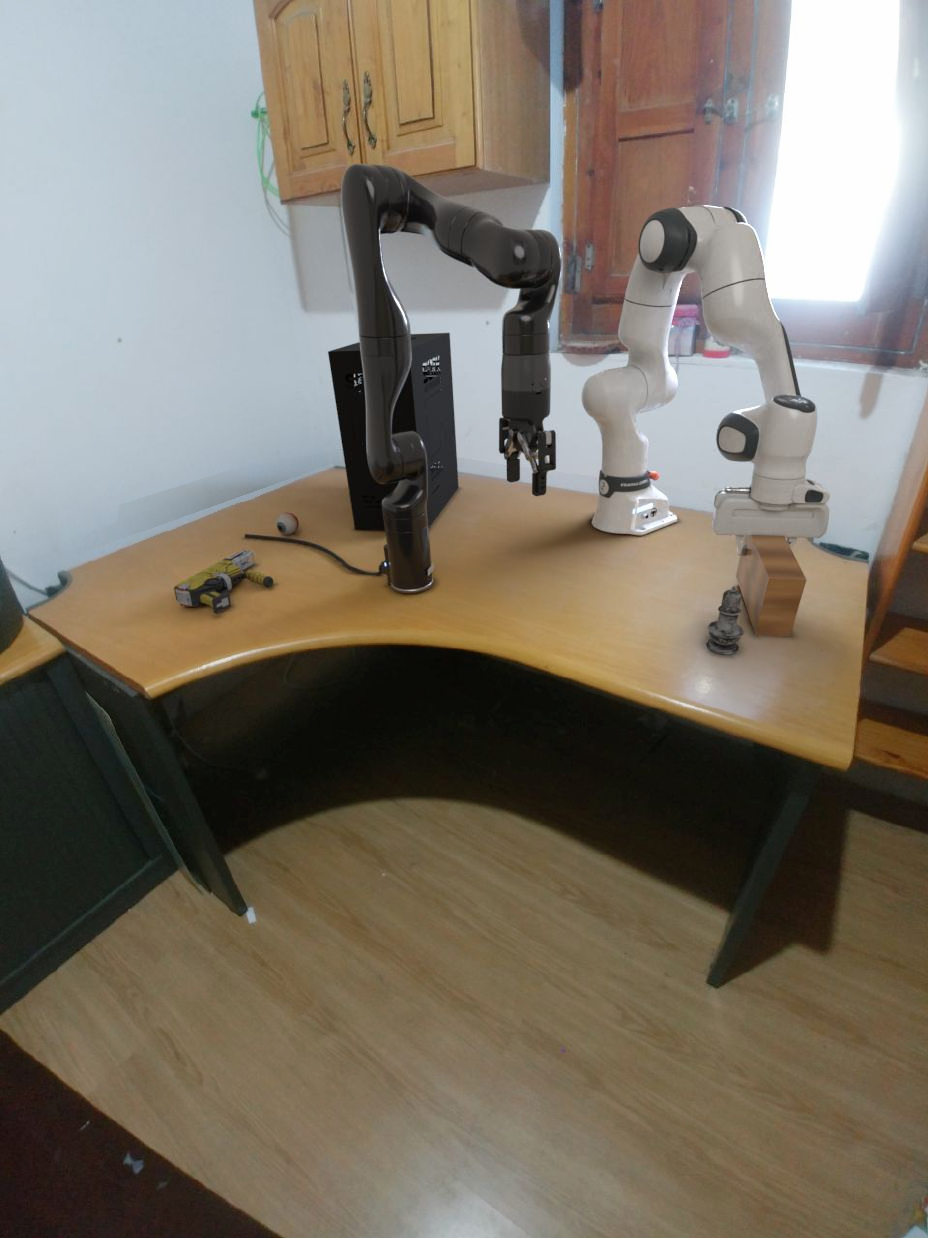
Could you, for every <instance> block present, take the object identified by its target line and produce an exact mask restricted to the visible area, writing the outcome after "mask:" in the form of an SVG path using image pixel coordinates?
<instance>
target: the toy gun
mask: <svg viewBox="0 0 928 1238" xmlns="http://www.w3.org/2000/svg"><path fill="white" fill-rule="evenodd" d="M251 557H252V559H253V561H250V560H249V558H251ZM255 564H256V562H255V554H254V551H253V550H250V549H249V550H248V551H247V549H246V548H242V549H241V550H240V551H237V552H236V553H234V554H232V555H230V556H229V557H225V558H223V559H222V560H220V561H218V562H216V563H214V564H212V565H210V566H208V567H207V568H205V569H203V570H201V571H199V572H197V573H195V574H194V575H192V576H190V577H188V578H187V579H185V580H183V581H181V582H178V583H177V584H175V585H174V586H173V591H174V597H175V601H177V603H178V604H180V607H181V608H182V607H184V608H189V607H199V606H204V605H207V606H210V607H211V608H212V609H213V613H214V614H217V613H220V612H222V611H224V610H226V609H228V608H230V607H231V606H232V604H231V597H230V593H229V592H231V591H232V588H233V586H234V585H237V584H239V583H241V582H243V581H244V580H248V581H250V582H253V583H255V584H259V585H262V586H263V587H265V588H270V587H272V586H273V585H274V579H273V578H272V576H271V575H265V574H263V573H260V572H257V571H254V570H252V569H249V568H250V567H251V566H254V565H255ZM246 569H247V570H246ZM245 570H246V571H245ZM244 571H245V572H244Z"/></svg>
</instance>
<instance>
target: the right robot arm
mask: <svg viewBox="0 0 928 1238" xmlns="http://www.w3.org/2000/svg"><path fill="white" fill-rule="evenodd" d="M637 247H638V253H637V255H636V257H635V260H634V263H633V266H632V269H631V272H630V275H629V278H628V282H627V285H626V290H625V295H624V299H623V304H622V309H621V314H620V318H619V324H618V329H617V336H618V339H619V342H620V343H621V344H622V345H623V346H624V347H625V348H627V352H628V353H627V355H628V360H627V363H626V365H625V366H621V367H615V368H608V369H604V370H602V371H600V372H597V373H595V374H593V375H591V376H589V377H588V378H587V380H586V381H585V382H584V384H583V386H582V390H581V403H582V407H583V409H584V411H585V412H586V414H587V415H588V416H589V417H591V419H593V421H594V422H595V423H596V425H597V426H598V430H599V432H600V436H601V437H600V438H601V468H600V470H599V474H598V492H599V493H598V498H597V502H596V507H595V511H594V514H593V517H592V520H591V525H592V526H593V527H594V528H595V529H597V530H599V531H601V532H605V533H611V534H623V535H625V534H626V535H632V536H633V535H634V536H645V535H646V534H650V533H652V532H654V531H657V530H660V529H662V528H665V527H668V526H670V525H672V524H675V523H677V522H678V516H677V515H676V514H675V513H674V512H672V511H670V503H669V502H670V501H669V498H668V497H667V496H666V495H665V494H664V493H663V492H661V491H660V490H659V489H658V488H656V487H655V486H654V485H652V483H651V480H653V481H658V479H659V478H660V473H659V472H657V471H654V470H651V471H649V470H648V469H647V466H648V458H649V457H648V456H649V446H650V443H649V439H648V437H647V436H646V435H645V434H644V433H643V432H641V431H640V430H639V429H638V426H637V425H638V424H637V415H638V414H642V413H649V412H652V411H656V410H657V409H660V408H662V407H664V406H666V405H668V404H669V403H670V402H672V401H673V400H674V398H675V396H676V394H677V392H678V388H679V378H678V376H677V375H678V374H677V373H676V371H675V369H674V368H673V367H672V365H671V364H670V360H669V352H668V351H669V338H670V333H671V327H672V324H673V319H674V314H675V311H676V307H677V302H678V298H679V293H680V288H681V285H682V282H683V280H684V278H685V277H686V276H687V275H688V274H693V273H696V275H697V276H698V279H699V284H700V296H701V306H702V307H701V309H702V316H703V321H704V324H705V327H706V330H707V332H708V334H709V335H710V336H711V337H712V338H713V339H714V340H716V341H717V342H719V343H721V344H723V345H725V346H728V347H731V348H735V349H738V350H739V351H741V352H743V353H744V354H746V355H748V356H749V357H750V358H751V359H752V360H753V361H754V363H755V364H756V367H757V369H758V373H759V378H760V382H761V386H762V392H763V395H764V399H765V403H762V404H760V405H757V406H756V405H755V406H752V407H749V408H748V407H747V408H743V409H738V410H735V411H733V412H729V413H727V414H726V415H725V416H724V417H723V418H722V419H721V421H720V423H719V424H718V427H717V431H716V435H715V441H716V447H717V450H718V452H719V453H720V454H721V456H722V457H723V458H724V459H726V460H728V461H730V462H739V463H747V462H749V463H751V464H753V469H752V474H751V479H750V484H749V487H748V486H747V487H746V486H744V487H742V486H741V487H732V486H727V487H724V489H721V490H718V492H717V493H716V494H715V496H714V501H713V506H714V508H715V509H714V511H713V514H712V518H711V523H710V528H711V530H712V532H713V533H714V534H715V535H717V536H733V538H734V540H735V542H736V545H737V548H736V555H737V556H738V557H740V556H746V552H747V547H746V545H743V543H742V542H741V541H744V537H745V536H751V535H768V536H785V538H786V540H787V542H788V544H789V546H790V548H791V549H792V547H793V546H794V545H795V544H796V543H797V541H798V540H797V539H798V538H802V539H820V538H821V537H823V536H824V535H825V534H826V533H827V531H828V526H829V520H830V507H829V506H828V504H827V503H828V502H829V500H830V497H831V494H830V492H829V490H828V489H827V488H826V487H825V486H824V485H823V484H821V483H820V482H819V481H817V480H813V479H811V478H810V479H809V478H806V475H807V467H806V465H807V460H808V458H809V457H810V455H811V453H812V451H813V447H814V443H815V438H816V431H817V427H818V426H817V424H818V409H817V405H816V403H814V401H812V400H811V399H809V398H807V397H805V396H802V394H801V390H800V386H799V381H798V376H797V373H796V369H795V367H796V366H795V363H794V359H793V354H792V349H791V344H790V341H789V337H788V334H787V331H786V328H785V325H784V323H783V322H782V321H781V319H780V318H778V315H777V314H776V311H775V310H774V309H775V308H774V307H773V304H772V301H771V298H770V293H769V290H768V283H767V282H768V281H767V273H766V272H767V271H766V265H765V259H764V254H763V251H762V246H761V243H760V240H759V237H758V234H757V232H756V230H755V228H754V227H753V226H752V225H750V224H748V221H747V218H746V216H745V215H744V214H743V213H742V212H740V211H739V210H738V209H735V208H732V207H729V206H720V207H719V206H713V205H706V204H705V205H704V204H699V205H694V206H685V207H683V206H682V207H678V208H677V207H668V208H667V207H666V208H663V209H660V210H658V211H655V212H654V213H652V214H651V215H650V216H648V218H647V219H646V220H645V222H644V223H643V226H642V228H641V230H640V233H639V238H638V246H637Z"/></svg>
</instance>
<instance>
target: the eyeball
mask: <svg viewBox="0 0 928 1238" xmlns="http://www.w3.org/2000/svg"><path fill="white" fill-rule="evenodd" d="M299 525H300V522H299V519H298V517H297V516H296V515H295V514H294V513H292V512H287V511H286V512H282V513H280V514H279V515H278V516H277V517H276V520H275V527H276V529H277V530H278V531H279V532H280V533H281V534H282V535H285V536H286V535H287V536H289V535H293V534H295V533H296V532H297V531H298V529H299Z"/></svg>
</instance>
